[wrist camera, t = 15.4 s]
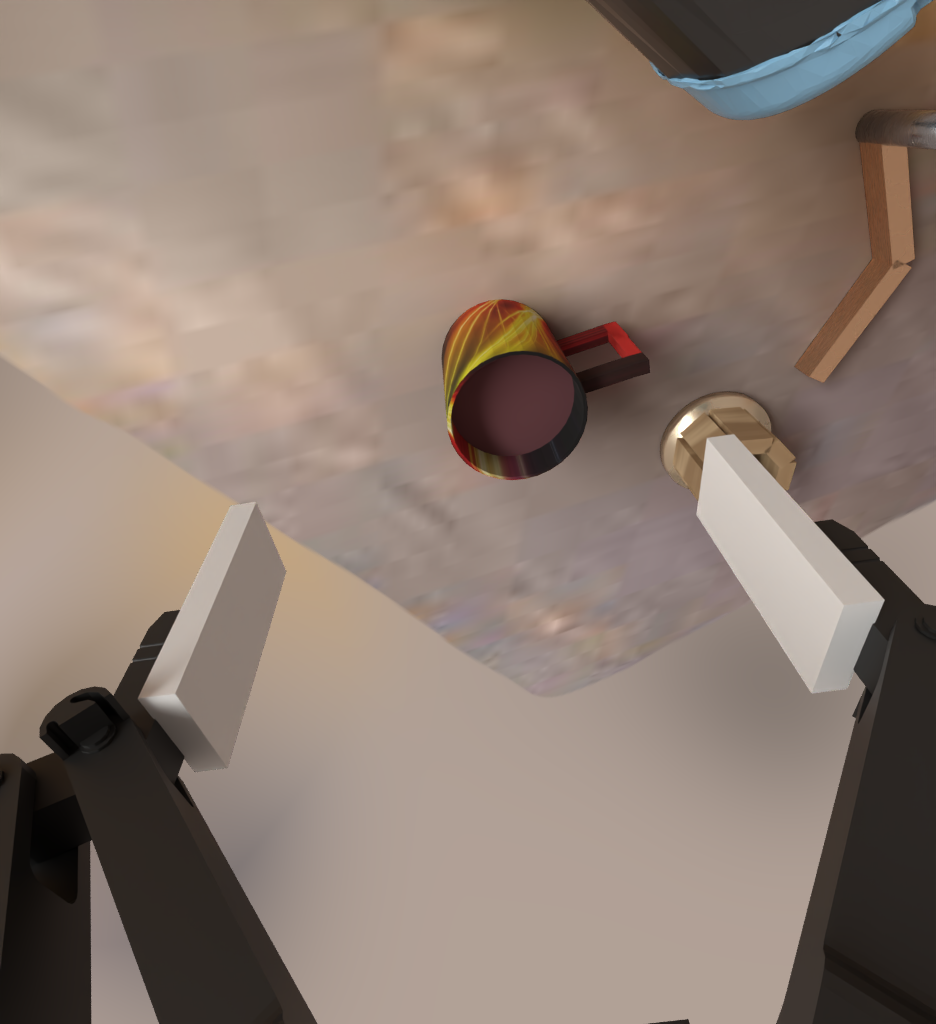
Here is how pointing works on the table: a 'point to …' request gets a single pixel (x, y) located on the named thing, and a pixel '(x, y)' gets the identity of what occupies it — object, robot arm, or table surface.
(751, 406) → the peg stand
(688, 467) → the oak ring
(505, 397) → the mug
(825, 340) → the bent hammer
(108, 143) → the table surface
